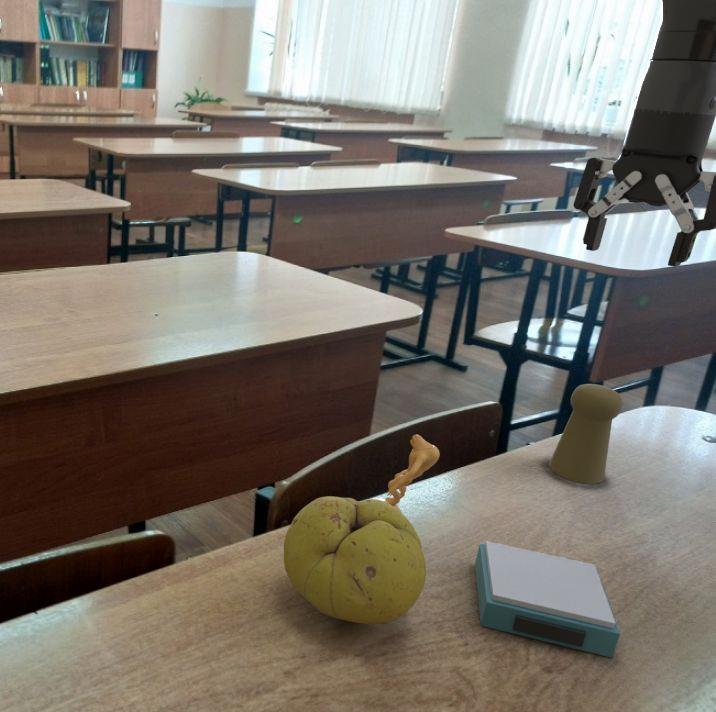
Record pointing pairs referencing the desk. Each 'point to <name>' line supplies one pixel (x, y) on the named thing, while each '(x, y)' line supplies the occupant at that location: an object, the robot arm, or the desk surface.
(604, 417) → the cork
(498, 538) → the desk surface
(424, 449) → the figurine
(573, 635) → the scale
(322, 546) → the fruit
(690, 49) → the robot arm
